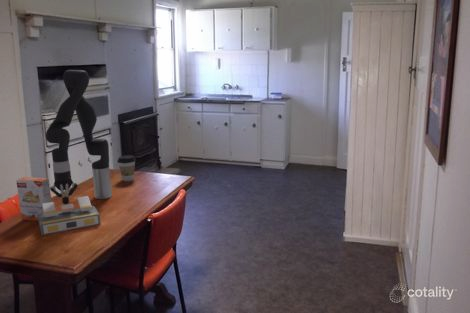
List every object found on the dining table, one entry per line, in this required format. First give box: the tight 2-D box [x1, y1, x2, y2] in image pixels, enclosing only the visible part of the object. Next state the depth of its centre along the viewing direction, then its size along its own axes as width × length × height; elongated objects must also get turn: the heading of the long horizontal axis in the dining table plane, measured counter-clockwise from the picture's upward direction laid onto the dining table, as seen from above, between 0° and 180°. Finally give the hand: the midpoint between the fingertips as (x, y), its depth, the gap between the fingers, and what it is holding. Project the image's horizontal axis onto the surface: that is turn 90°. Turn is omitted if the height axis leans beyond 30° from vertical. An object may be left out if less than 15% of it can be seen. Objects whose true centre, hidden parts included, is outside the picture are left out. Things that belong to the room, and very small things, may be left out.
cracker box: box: [16, 176, 52, 222], centre depth 223 cm, size 14×6×21 cm, turn 78°
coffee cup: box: [117, 154, 136, 182], centre depth 288 cm, size 11×11×15 cm
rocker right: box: [77, 195, 93, 212], centre depth 220 cm, size 9×5×2 cm, turn 28°
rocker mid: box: [60, 203, 75, 211], centre depth 217 cm, size 9×5×2 cm, turn 27°
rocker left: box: [42, 201, 57, 218], centre depth 213 cm, size 9×5×2 cm, turn 28°
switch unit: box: [38, 205, 101, 236], centre depth 216 cm, size 14×26×6 cm, turn 117°
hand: (65, 204), depth 221 cm, fingers closed
